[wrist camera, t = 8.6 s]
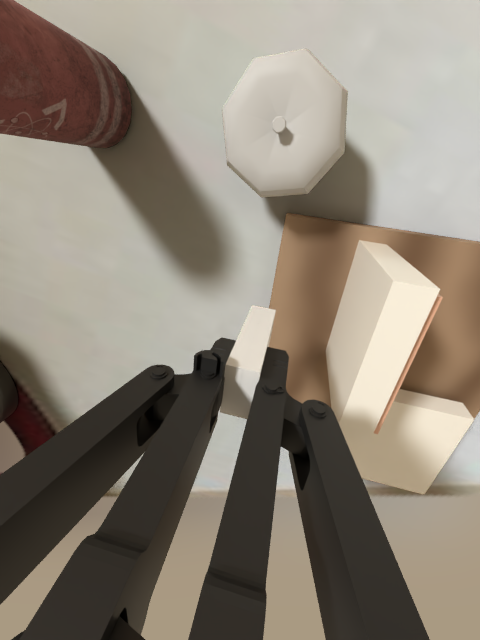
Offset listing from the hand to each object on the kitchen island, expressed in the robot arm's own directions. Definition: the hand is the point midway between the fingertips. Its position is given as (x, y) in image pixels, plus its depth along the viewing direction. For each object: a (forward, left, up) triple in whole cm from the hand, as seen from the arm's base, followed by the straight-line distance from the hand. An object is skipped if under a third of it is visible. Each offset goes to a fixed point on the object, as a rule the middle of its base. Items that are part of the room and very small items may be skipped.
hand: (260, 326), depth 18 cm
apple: (-1, +11, -9) cm, 14 cm away
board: (+10, -6, -9) cm, 15 cm away
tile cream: (+7, 0, -8) cm, 10 cm away
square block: (+8, -12, -6) cm, 16 cm away
